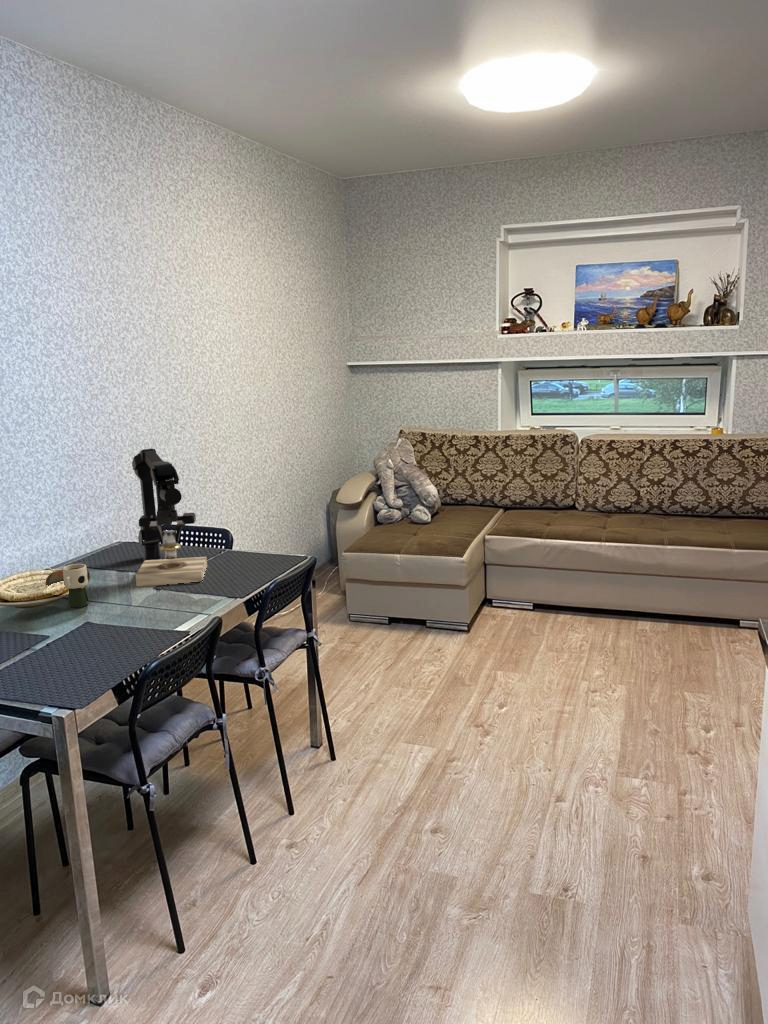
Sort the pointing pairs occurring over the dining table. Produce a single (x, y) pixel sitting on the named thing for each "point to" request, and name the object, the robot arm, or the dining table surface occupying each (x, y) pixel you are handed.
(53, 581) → the tin
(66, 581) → the character mug
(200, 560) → the jig
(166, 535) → the silver and gold knob
